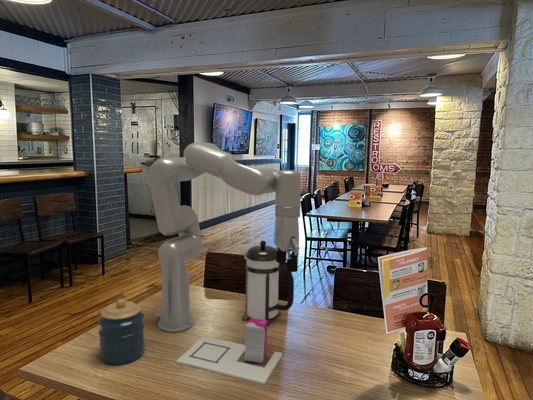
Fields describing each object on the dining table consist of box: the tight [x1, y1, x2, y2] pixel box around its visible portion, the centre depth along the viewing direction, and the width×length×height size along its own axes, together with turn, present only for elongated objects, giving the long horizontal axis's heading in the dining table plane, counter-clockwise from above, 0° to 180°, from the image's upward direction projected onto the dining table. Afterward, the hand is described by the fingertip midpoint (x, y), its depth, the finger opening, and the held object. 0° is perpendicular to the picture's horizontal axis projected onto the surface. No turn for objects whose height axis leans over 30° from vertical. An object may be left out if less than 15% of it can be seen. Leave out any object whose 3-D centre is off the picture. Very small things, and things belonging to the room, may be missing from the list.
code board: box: [175, 335, 283, 386], centre depth 113 cm, size 28×16×1 cm, turn 70°
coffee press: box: [241, 240, 295, 327], centre depth 139 cm, size 17×16×30 cm
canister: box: [97, 298, 146, 366], centre depth 113 cm, size 13×13×18 cm
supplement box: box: [243, 317, 268, 365], centre depth 113 cm, size 6×6×12 cm
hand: (286, 266), depth 113 cm, fingers open, 9 cm apart
